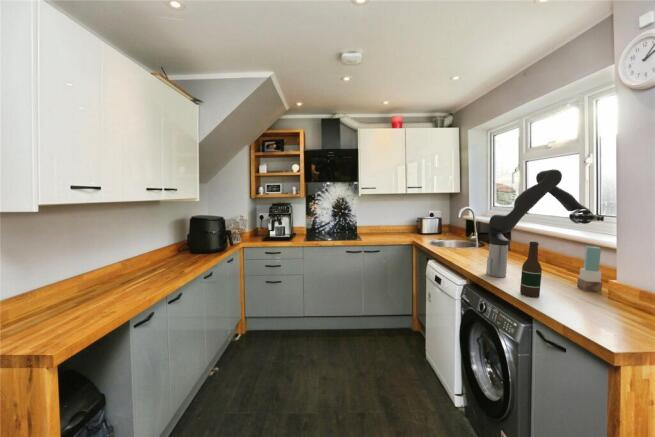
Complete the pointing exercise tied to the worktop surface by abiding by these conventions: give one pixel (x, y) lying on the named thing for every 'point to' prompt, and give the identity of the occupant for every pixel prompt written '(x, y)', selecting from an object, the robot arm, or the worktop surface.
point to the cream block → (590, 275)
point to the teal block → (592, 258)
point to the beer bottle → (531, 273)
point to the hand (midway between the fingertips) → (587, 218)
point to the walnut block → (589, 286)
